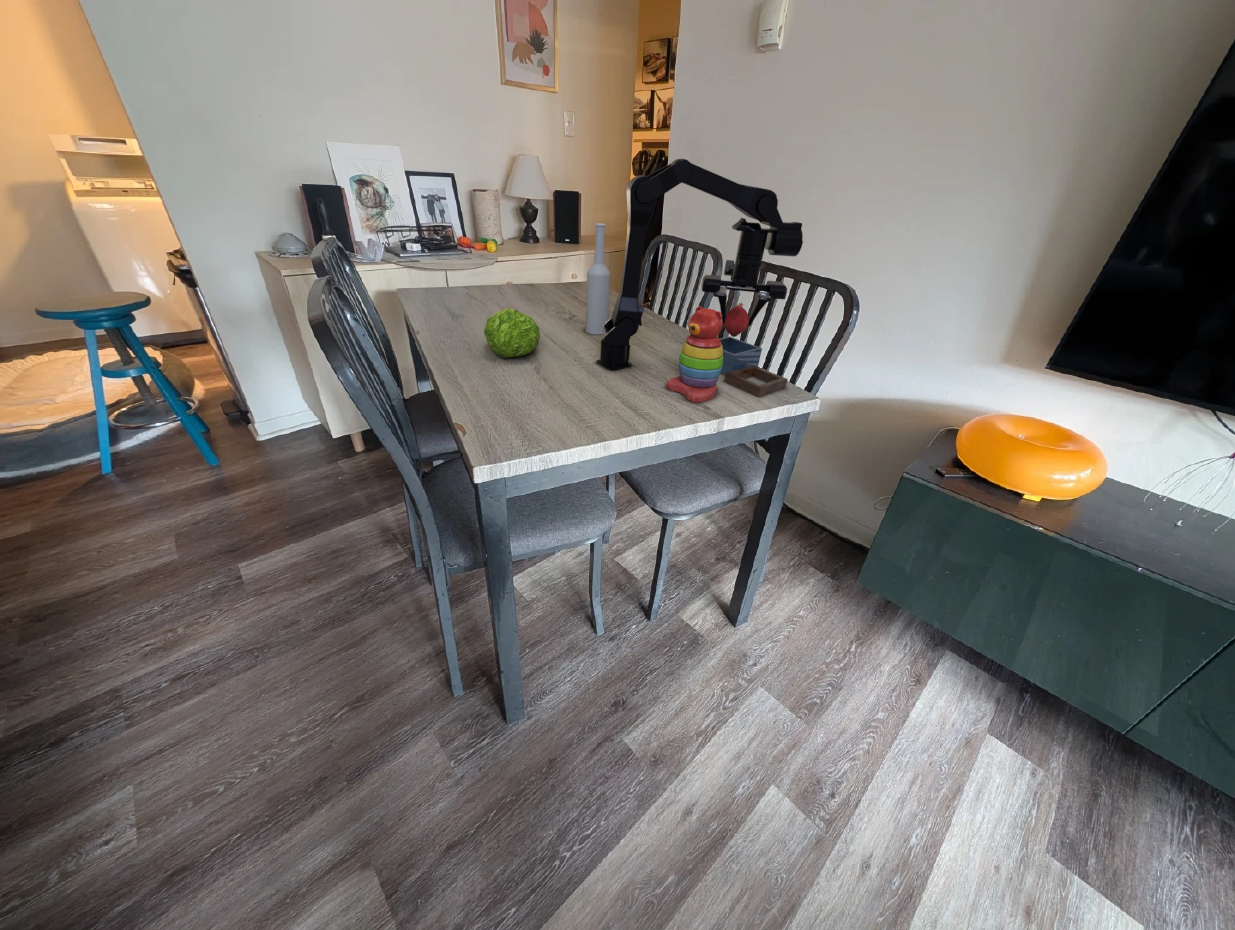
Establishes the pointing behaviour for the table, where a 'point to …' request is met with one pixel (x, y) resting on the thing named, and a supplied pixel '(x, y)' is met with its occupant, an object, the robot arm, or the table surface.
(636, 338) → the table surface
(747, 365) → the blue open box
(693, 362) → the stacking bear
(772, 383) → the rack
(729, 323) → the red round fruit
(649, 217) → the robot arm
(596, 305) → the bottle
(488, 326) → the lettuce
